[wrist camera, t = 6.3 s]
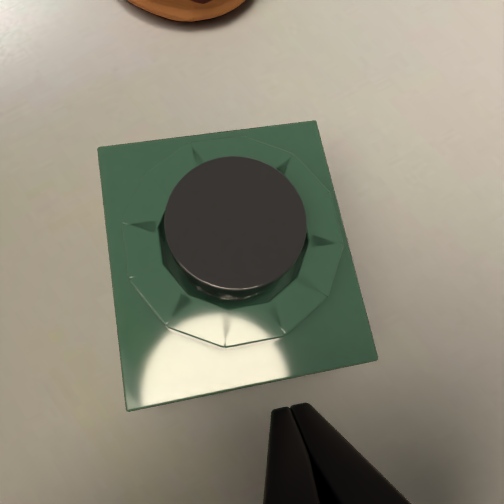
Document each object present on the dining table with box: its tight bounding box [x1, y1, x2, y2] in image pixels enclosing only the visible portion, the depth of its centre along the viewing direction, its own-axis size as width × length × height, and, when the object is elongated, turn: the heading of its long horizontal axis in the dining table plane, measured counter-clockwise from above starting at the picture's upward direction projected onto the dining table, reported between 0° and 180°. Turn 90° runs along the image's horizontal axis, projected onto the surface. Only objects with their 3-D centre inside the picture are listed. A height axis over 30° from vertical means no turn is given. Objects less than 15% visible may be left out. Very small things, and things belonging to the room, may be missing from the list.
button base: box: [97, 120, 378, 412], centre depth 18 cm, size 10×9×8 cm
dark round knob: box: [164, 156, 307, 300], centre depth 14 cm, size 4×4×2 cm
